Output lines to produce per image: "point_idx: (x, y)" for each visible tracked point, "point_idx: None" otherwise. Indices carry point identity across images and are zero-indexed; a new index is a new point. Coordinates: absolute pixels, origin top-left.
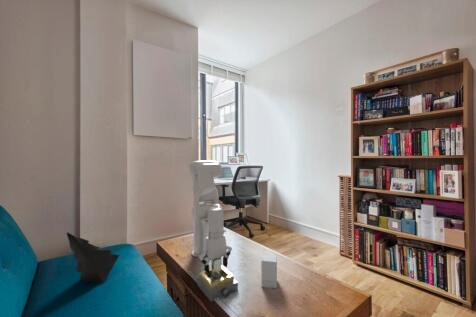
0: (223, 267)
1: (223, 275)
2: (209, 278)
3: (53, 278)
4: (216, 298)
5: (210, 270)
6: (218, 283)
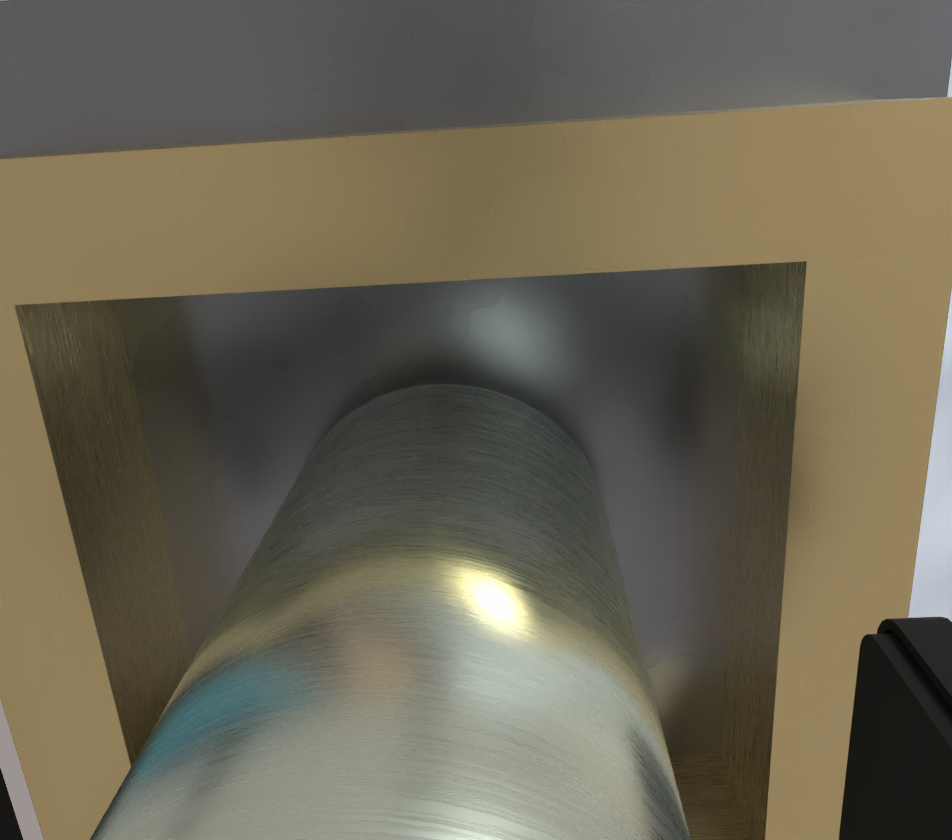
0: (905, 370)
1: (718, 482)
2: (262, 410)
3: None
4: None
5: (322, 283)
6: None
